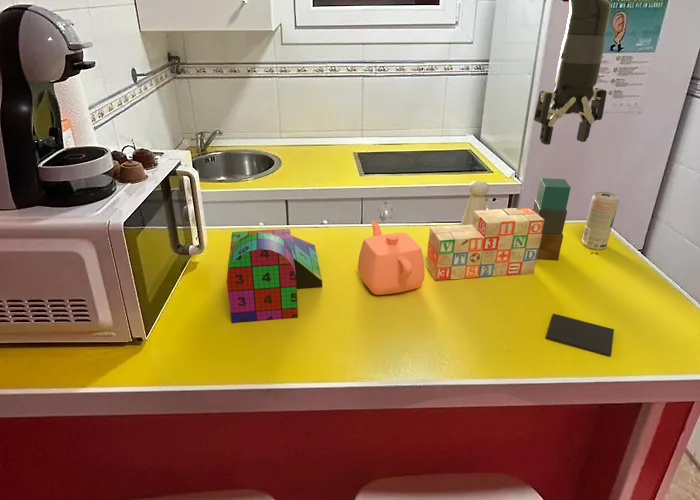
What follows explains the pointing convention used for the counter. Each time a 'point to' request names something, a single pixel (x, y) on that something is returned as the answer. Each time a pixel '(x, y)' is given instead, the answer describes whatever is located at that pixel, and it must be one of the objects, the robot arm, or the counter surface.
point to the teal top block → (553, 194)
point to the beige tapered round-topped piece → (475, 200)
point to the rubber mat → (581, 334)
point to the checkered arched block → (269, 274)
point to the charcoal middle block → (551, 219)
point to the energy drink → (600, 220)
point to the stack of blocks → (486, 245)
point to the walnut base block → (550, 246)
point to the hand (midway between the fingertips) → (563, 142)
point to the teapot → (390, 262)
